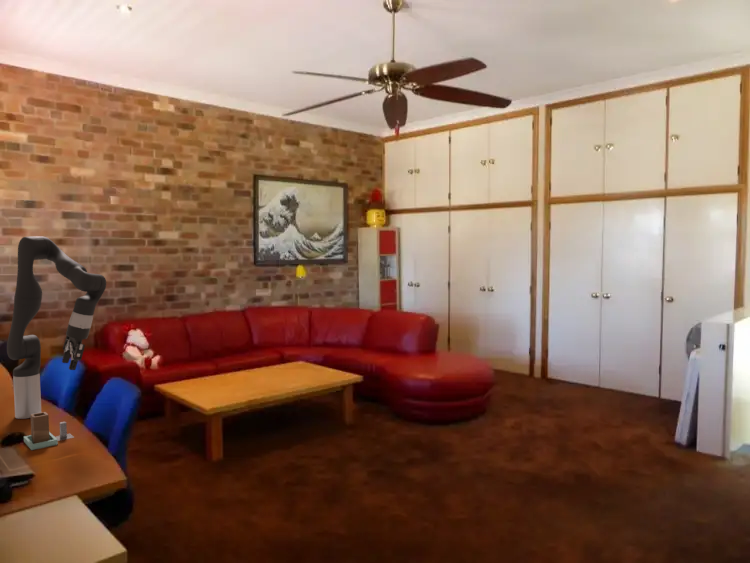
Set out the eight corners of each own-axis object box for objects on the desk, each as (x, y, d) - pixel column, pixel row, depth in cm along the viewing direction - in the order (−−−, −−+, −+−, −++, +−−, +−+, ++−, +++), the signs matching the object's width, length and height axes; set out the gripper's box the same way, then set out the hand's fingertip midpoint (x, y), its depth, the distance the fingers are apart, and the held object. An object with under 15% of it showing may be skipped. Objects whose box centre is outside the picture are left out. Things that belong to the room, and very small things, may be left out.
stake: (52, 438, 202) (52, 422, 202) (69, 435, 206) (69, 419, 205) (57, 442, 198) (56, 426, 198) (74, 438, 202) (73, 422, 201)
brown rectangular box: (31, 442, 196) (30, 414, 196) (46, 439, 199) (45, 411, 199) (34, 445, 193) (33, 417, 192) (49, 442, 196) (48, 414, 195)
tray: (23, 443, 198) (23, 436, 197) (49, 437, 203) (49, 431, 203) (31, 452, 189) (31, 445, 189) (57, 446, 195) (57, 439, 194)
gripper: (63, 318, 212) (52, 359, 212) (75, 328, 202) (63, 371, 202) (84, 321, 217) (73, 361, 217) (96, 330, 207) (85, 372, 207)
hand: (68, 366), depth 210 cm, fingers open, 8 cm apart
